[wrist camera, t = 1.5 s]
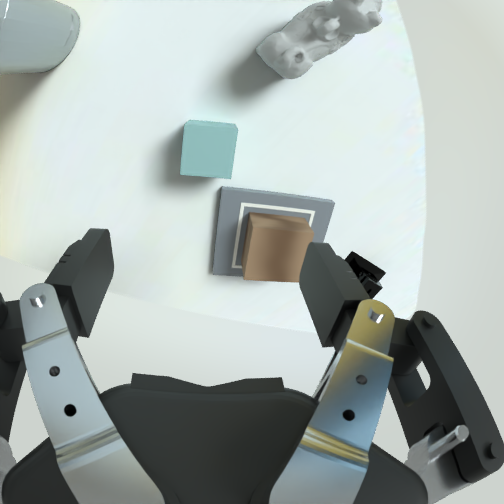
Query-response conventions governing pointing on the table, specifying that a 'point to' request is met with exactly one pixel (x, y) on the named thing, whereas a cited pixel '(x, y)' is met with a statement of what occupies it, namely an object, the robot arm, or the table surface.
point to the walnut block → (275, 247)
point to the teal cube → (208, 149)
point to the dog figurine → (317, 34)
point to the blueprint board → (247, 200)
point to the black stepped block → (366, 273)
